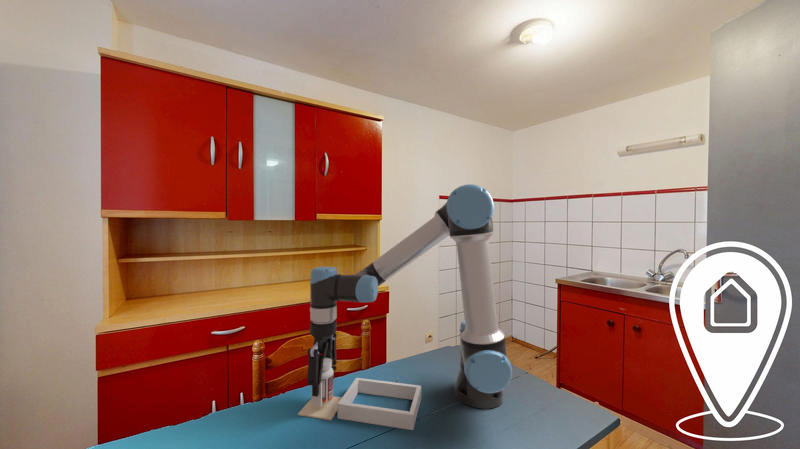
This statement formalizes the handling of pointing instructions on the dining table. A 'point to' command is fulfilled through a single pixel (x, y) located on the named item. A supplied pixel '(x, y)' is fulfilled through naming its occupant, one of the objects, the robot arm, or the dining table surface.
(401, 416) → the bin
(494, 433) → the dining table surface
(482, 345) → the robot arm
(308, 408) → the mat
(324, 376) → the pill bottle
